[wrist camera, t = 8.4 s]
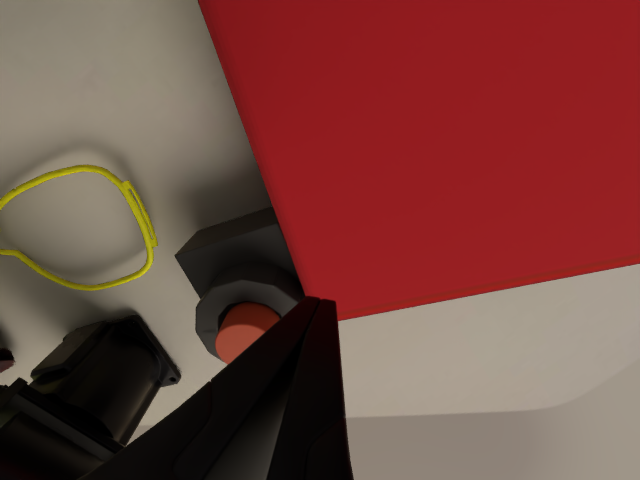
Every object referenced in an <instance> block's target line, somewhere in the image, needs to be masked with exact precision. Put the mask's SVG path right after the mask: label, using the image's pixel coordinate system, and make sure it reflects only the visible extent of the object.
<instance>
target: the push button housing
mask: <svg viewBox="0 0 640 480" xmlns="http://www.w3.org/2000/svg"><path fill="white" fill-rule="evenodd" d="M175 258H176V259H177V261H178V263H179V264H180V266H181V268H182V269H183V271H184V273H185V274H186V276H187V278H188V279H189V281H190V282H191V284H192V286H193V287H194V289H195V291H196V292H197V294H198V296H199V297H200V299H201V300H200V301H199V303H198V304H197V307H196V328H195V330H196V333H197V335H198V336H199V338H200V339H201V341H202V342H203V344H204V345H205V347H206V349H207V350H208V352H209V353H210V354H212V355H213V356H215V357H217V358H218V359H220V360H222V359H221V358H220V356H219V355H218V353H217V351H216V348H215V338H216V336H217V334H218V331H219V329H220V327H221V325H222V323H223V321H224V319H225V317H226V315H227V313H228V312H229V310H230V309H231V308H233V307H234V306H236V305H238V304H240V303H244V302H257V303H261V304H264V305H266V306H268V307H269V308H271V309H272V310H274V311H275V312H276V314H277V315H278V316H279V318H280V319H281V318H282V317H283V316H284V315H285V314H286V313H287V312H289V311H290V310H291V309H292V308H293V307H294V306H295V305H297V304H298V303H299V302H300V301H301V300H302V299H303V298H305V297H306V296H305V293H304V291H303V288H302V285H301V282H300V280H299V277H298V274H297V272H296V269H295V266H294V263H293V261H292V258H291V255H290V252H289V250H288V247H287V244H286V241H285V239H284V236H283V233H282V230H281V228H280V225H279V222H278V219H277V217H276V214H275V211H274V208H273V206H272V207H269V208H266V209H263V210H260V211H257V212H254V213H251V214H248V215H245V216H242V217H239V218H236V219H233V220H230V221H227V222H224V223H221V224H217V225H214V226H211V227H208V228H205V229H202V230H199V231H197V232H196V233H195V234H194V235H193V236H192V238H191V239H190V240H189V241H188V242H187V243H186V244H185V245H184V246H183V247H182V248H181V249H180V250H179V251H178V252H177V253H176V254H175ZM222 361H223V360H222ZM223 362H224V361H223ZM226 364H227V363H226Z"/></svg>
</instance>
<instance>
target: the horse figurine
mask: <svg viewBox="0 0 640 480" xmlns="http://www.w3.org/2000/svg"><path fill="white" fill-rule="evenodd" d="M2 349H3V348H2ZM2 349H1V348H0V373H2V372H3V371H5V370H6V369H9V368H10V367H13V366H12V365H15V364H12V363H14V362H15V360H14V357H13V355H12V352H11V351H8V349H7V350H5V349H6V348H5V347H4V349H3V350H2ZM13 361H14V362H13Z"/></svg>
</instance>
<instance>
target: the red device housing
mask: <svg viewBox="0 0 640 480" xmlns="http://www.w3.org/2000/svg"><path fill="white" fill-rule="evenodd" d="M198 3H199V5H200V8H201V11H202V14H203V16H204V19H205V22H206V25H207V27H208V30H209V33H210V36H211V38H212V41H213V44H214V47H215V49H216V52H217V55H218V58H219V60H220V63H221V66H222V69H223V71H224V74H225V77H226V79H227V82H228V85H229V88H230V90H231V93H232V96H233V99H234V101H235V104H236V107H237V110H238V112H239V115H240V118H241V121H242V123H243V126H244V129H245V132H246V134H247V137H248V140H249V143H250V145H251V148H252V151H253V154H254V156H255V159H256V162H257V165H258V167H259V170H260V173H261V176H262V178H263V181H264V184H265V186H266V189H267V192H268V195H269V197H270V200H271V203H272V206H273V208H274V211H275V214H276V217H277V219H278V222H279V225H280V228H281V230H282V233H283V236H284V239H285V241H286V244H287V247H288V250H289V252H290V255H291V258H292V261H293V263H294V266H295V269H296V272H297V274H298V277H299V280H300V282H301V285H302V288H303V291H304V293H305V296H314V297H319V298H321V300H322V299H330V300H335V301H336V305H337V317H338V321H342V320H347V319H352V318H357V317H363V316H368V315H373V314H378V313H383V312H389V311H394V310H399V309H404V308H410V307H415V306H420V305H425V304H431V303H436V302H441V301H446V300H452V299H457V298H462V297H467V296H473V295H478V294H483V293H488V292H494V291H499V290H504V289H509V288H515V287H520V286H525V285H530V284H535V283H541V282H546V281H551V280H556V279H562V278H567V277H572V276H577V275H583V274H588V273H593V272H598V271H604V270H609V269H614V268H619V267H625V266H630V265H635V264H640V0H198Z"/></svg>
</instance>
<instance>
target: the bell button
mask: <svg viewBox="0 0 640 480" xmlns="http://www.w3.org/2000/svg"><path fill="white" fill-rule="evenodd" d="M279 319H280V318H279V316H278V315H277V314H276V312H275V311H274V310H272V309H271V308H269V307H268V306H266V305H264V304H261V303H257V302H244V303H240V304H238V305H236V306H234V307H233V308H231V309H230V310H229V312H228V313H227V315H226V317H225V319H224V321H223V323H222V325H221V327H220V329H219V331H218V334H217V336H216V338H215V348H216V351H217V353H218V355H219V356H220V358H221V359H222V360H223V361H224V362H225V363H227V364H229V363H230V362H232V361H233V360H234V359H235V358H236V357H237V356H238V355H240V354H241V353H242V352H243V351H244V350H245V349H246V348H248V347H249V346H250V345H251V344H252V343H253V342H254V341H256V340H257V339H258V338H259V337H260V336H261V335H262V334H264V333H265V332H266V331H267V330H268V329H269V328H270V327H271V326H273V325H274V324H275V323H276V322H277V321H278V320H279Z"/></svg>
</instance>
